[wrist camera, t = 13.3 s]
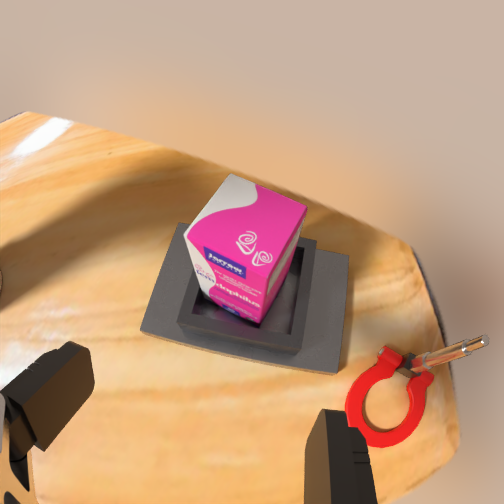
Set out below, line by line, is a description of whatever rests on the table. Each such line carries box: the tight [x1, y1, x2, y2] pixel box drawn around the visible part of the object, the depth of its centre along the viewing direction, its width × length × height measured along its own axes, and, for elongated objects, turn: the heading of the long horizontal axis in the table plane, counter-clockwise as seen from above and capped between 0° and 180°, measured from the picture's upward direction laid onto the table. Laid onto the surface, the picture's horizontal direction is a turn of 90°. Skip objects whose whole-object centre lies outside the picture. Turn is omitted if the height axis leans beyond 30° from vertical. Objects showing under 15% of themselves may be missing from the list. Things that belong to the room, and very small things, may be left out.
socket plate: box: [140, 223, 349, 375], centre depth 27 cm, size 18×12×4 cm, turn 78°
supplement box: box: [184, 173, 307, 327], centre depth 23 cm, size 6×6×12 cm
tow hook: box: [345, 335, 489, 448], centre depth 18 cm, size 8×13×9 cm
